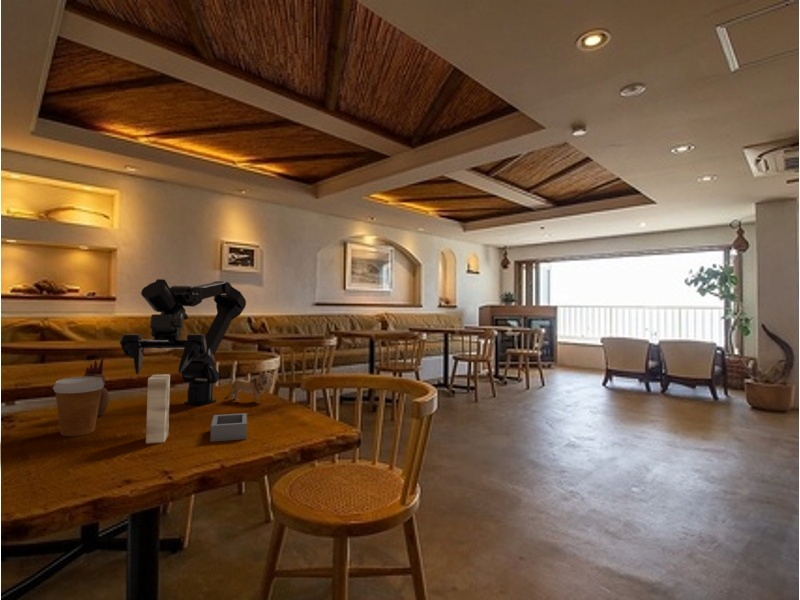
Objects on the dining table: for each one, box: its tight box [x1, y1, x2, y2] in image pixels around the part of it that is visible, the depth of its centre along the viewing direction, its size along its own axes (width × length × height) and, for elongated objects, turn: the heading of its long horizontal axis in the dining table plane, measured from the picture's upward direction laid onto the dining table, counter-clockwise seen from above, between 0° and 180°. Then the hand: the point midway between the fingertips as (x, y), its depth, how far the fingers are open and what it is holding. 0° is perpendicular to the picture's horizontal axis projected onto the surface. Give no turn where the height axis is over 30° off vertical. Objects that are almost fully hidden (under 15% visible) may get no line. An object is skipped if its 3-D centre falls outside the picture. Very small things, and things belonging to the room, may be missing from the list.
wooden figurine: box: [82, 358, 110, 418], centre depth 111 cm, size 7×6×15 cm
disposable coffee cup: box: [52, 376, 105, 437], centre depth 99 cm, size 10×10×12 cm
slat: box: [145, 373, 171, 445], centre depth 95 cm, size 5×4×14 cm
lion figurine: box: [223, 372, 274, 402], centre depth 131 cm, size 15×5×9 cm, turn 93°
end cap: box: [209, 412, 248, 442], centre depth 100 cm, size 9×8×4 cm
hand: (158, 372), depth 103 cm, fingers open, 9 cm apart
